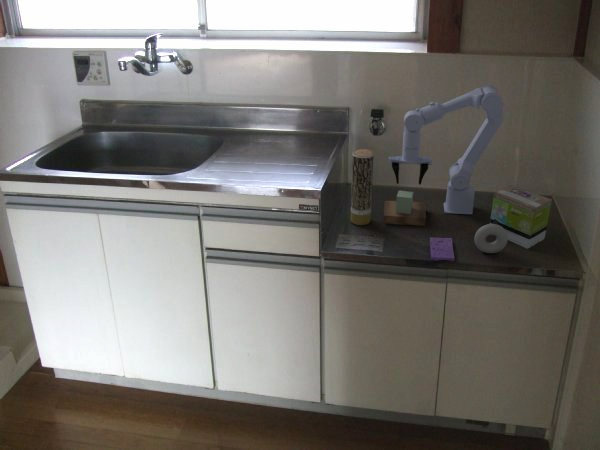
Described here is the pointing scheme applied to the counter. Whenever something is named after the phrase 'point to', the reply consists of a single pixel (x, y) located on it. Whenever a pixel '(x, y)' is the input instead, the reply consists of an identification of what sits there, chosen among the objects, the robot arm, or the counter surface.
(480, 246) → the donut
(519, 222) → the tea box
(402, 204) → the block
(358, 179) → the paper tube
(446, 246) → the sponges
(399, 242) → the counter surface
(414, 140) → the robot arm
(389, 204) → the plinth
